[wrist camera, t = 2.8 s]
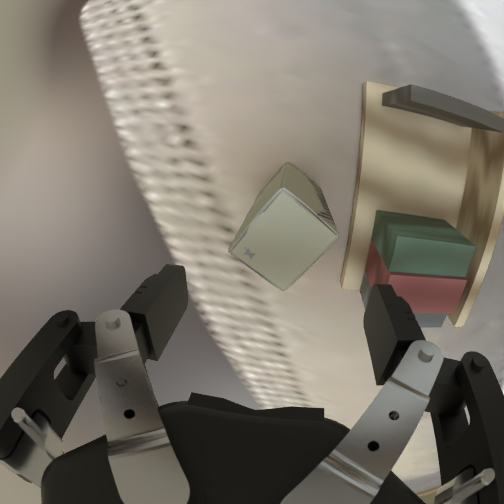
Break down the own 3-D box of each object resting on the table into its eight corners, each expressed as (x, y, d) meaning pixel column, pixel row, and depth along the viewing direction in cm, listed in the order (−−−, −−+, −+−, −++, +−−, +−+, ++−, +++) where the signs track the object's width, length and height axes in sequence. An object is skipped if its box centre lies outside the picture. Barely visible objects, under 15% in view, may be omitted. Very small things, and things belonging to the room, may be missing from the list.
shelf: (363, 83, 21) (390, 67, 14) (473, 113, 19) (523, 117, 12) (340, 281, 30) (350, 332, 23) (438, 288, 29) (466, 332, 21)
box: (289, 225, 29) (281, 298, 17) (254, 197, 28) (222, 255, 16) (323, 186, 26) (343, 237, 15) (288, 157, 26) (280, 185, 14)
